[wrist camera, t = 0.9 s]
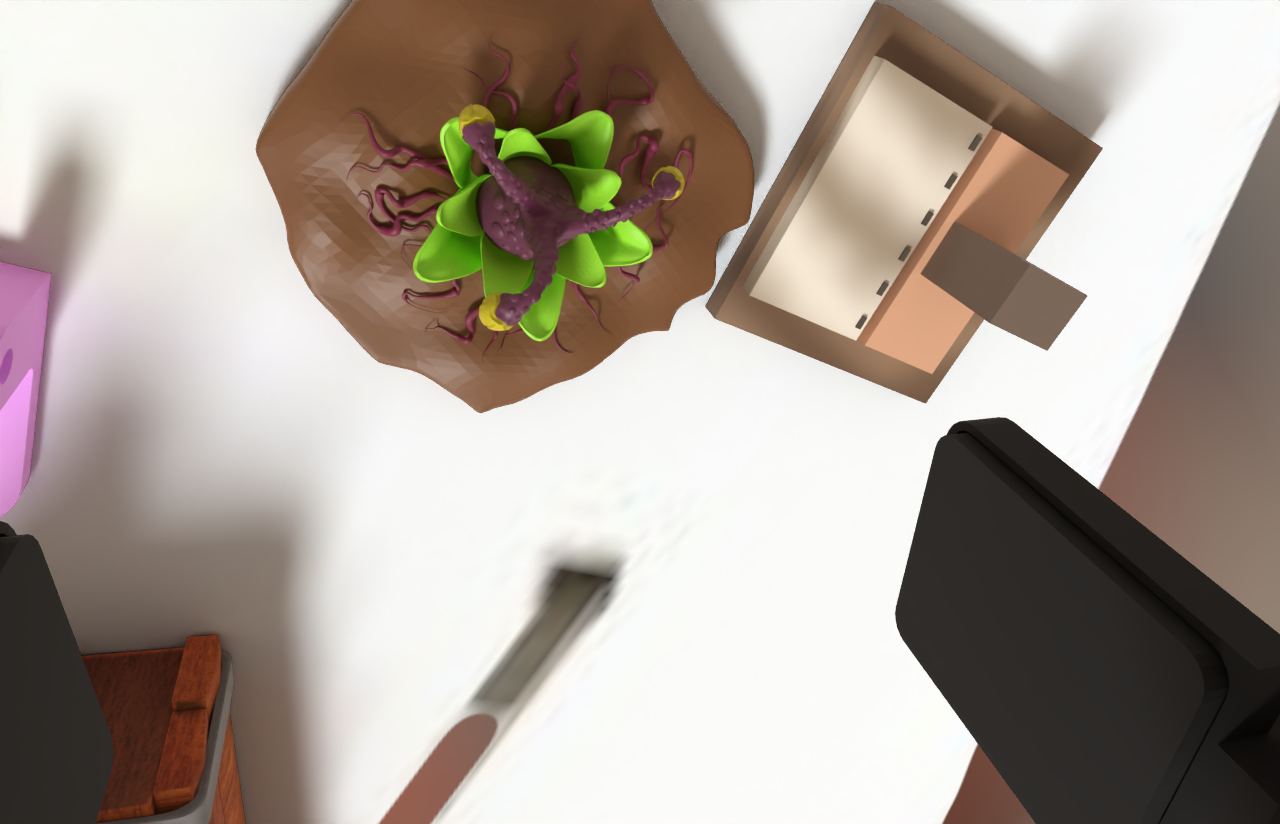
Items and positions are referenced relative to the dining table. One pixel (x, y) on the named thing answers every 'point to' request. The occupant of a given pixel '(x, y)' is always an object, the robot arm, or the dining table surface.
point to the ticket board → (878, 195)
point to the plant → (503, 185)
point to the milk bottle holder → (169, 735)
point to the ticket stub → (977, 263)
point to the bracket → (19, 372)
